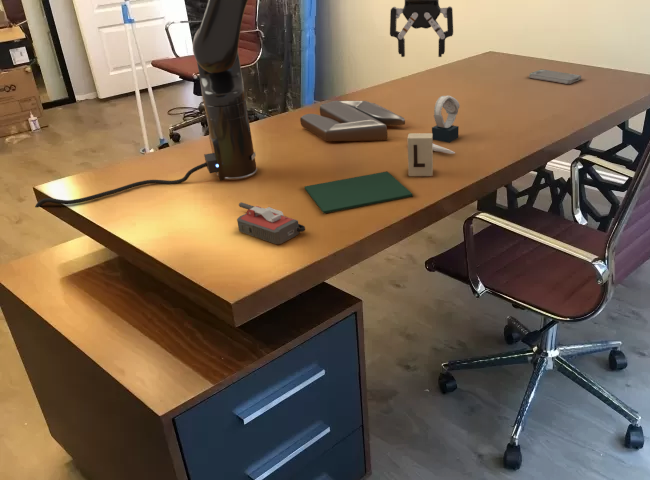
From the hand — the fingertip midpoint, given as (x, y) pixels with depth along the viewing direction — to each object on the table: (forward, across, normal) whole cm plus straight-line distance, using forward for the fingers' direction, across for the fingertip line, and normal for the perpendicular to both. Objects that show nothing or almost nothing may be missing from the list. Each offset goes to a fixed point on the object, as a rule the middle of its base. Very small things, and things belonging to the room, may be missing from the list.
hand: (421, 56), depth 150 cm
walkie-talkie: (+26, -29, -41) cm, 56 cm away
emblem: (+23, -21, +22) cm, 38 cm away
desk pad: (+25, -13, -23) cm, 36 cm away
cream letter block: (+24, 0, -12) cm, 27 cm away
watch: (+23, +5, +14) cm, 27 cm away
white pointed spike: (+22, +2, +8) cm, 23 cm away
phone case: (+20, +43, +66) cm, 81 cm away
